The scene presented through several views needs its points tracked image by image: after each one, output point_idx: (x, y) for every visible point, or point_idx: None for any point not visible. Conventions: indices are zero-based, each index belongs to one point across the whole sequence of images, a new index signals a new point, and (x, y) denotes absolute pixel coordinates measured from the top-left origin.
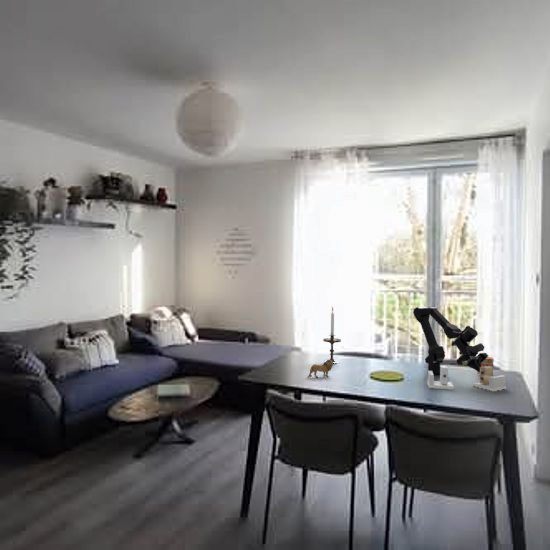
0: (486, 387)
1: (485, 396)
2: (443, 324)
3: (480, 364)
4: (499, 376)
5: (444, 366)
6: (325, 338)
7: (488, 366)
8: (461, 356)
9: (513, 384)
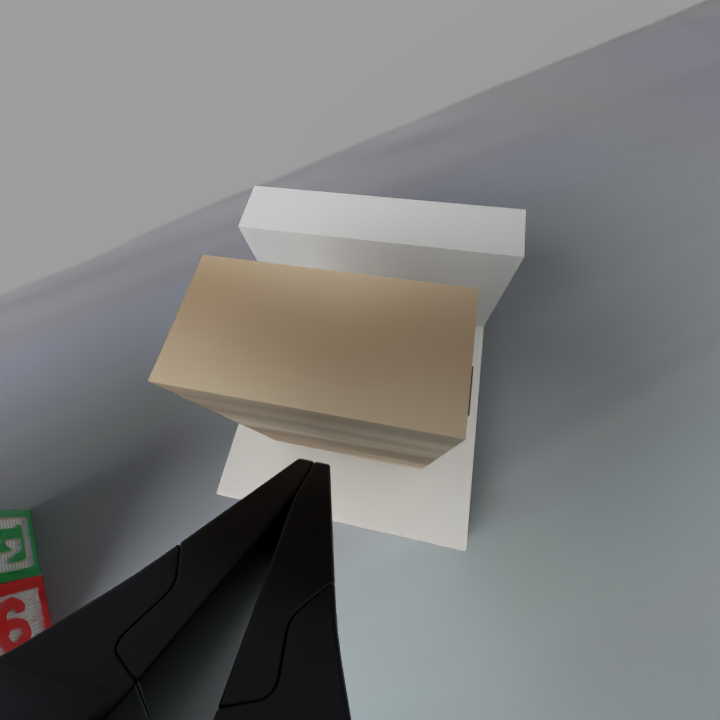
0: (479, 358)
1: (709, 261)
2: None
3: (154, 582)
4: (348, 210)
5: None
6: None
7: (192, 345)
8: None
9: (58, 322)
